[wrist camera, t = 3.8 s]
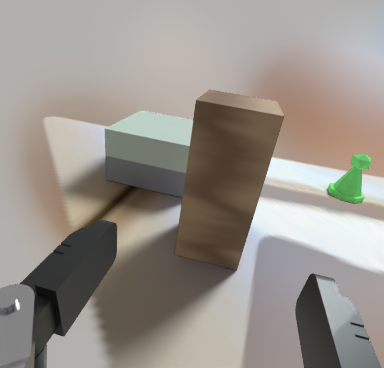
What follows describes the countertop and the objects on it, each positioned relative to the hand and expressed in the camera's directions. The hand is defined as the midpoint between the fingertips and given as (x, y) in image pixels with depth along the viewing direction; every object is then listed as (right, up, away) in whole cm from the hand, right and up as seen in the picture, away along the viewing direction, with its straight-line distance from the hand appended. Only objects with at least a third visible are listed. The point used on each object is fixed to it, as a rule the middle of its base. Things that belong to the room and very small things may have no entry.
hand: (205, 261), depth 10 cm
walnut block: (+1, -2, +12) cm, 12 cm away
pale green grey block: (-4, +5, +22) cm, 23 cm away
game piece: (+20, +2, +24) cm, 31 cm away
